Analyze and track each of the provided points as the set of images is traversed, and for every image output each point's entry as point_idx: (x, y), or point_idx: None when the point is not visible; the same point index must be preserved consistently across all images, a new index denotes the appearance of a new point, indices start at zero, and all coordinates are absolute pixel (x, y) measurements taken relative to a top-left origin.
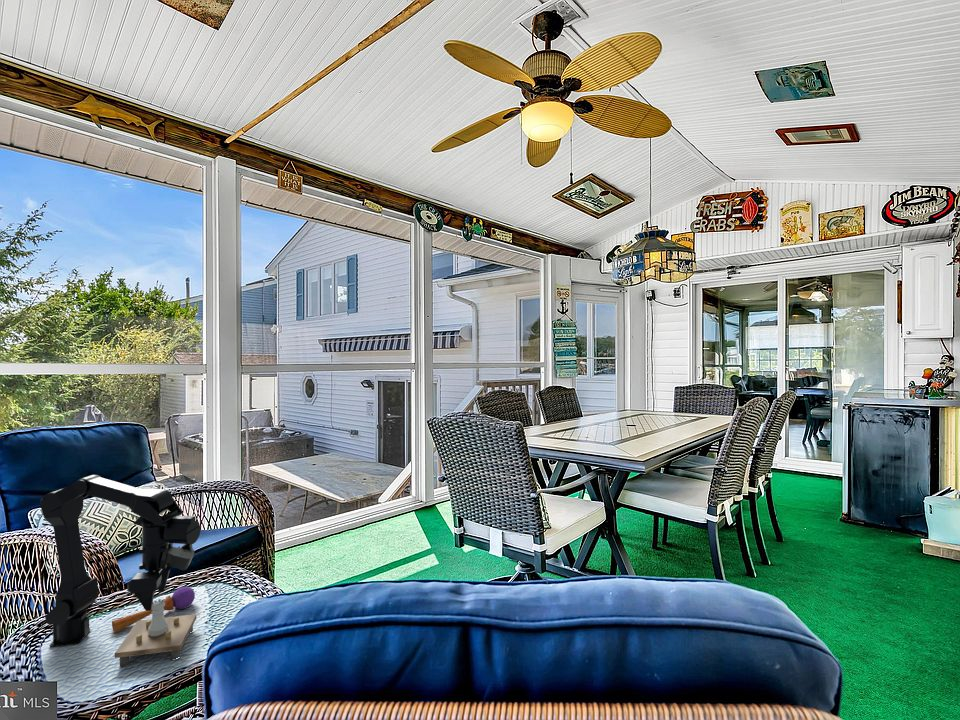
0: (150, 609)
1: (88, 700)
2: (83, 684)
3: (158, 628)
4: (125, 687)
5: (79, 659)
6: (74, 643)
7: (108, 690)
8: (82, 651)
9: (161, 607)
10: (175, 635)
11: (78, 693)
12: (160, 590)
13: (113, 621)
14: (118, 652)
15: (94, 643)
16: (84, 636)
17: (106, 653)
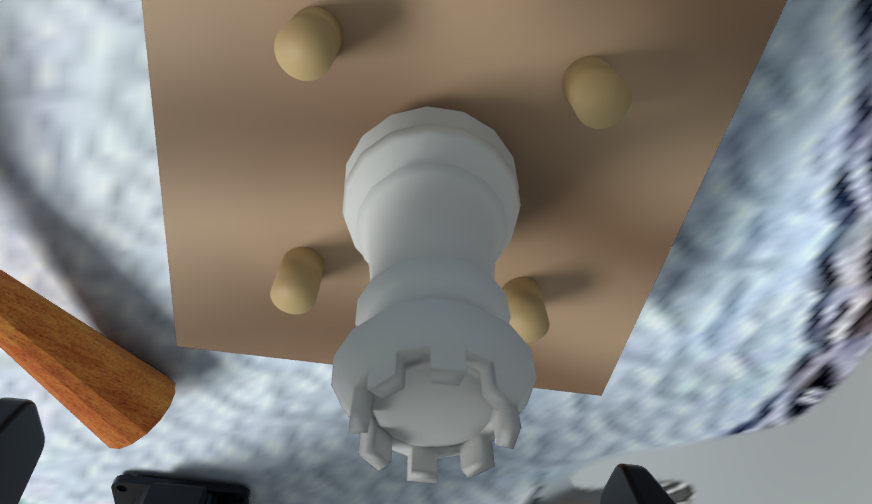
0: (650, 477)
1: (795, 369)
2: (634, 408)
3: (508, 208)
4: (809, 242)
5: (393, 458)
6: (249, 502)
7: (772, 311)
8: (321, 461)
9: (520, 336)
10: (571, 14)
11: (700, 410)
12: (30, 453)
13: (125, 445)
14: (604, 379)
15: (257, 436)
16: (204, 490)
17: None
